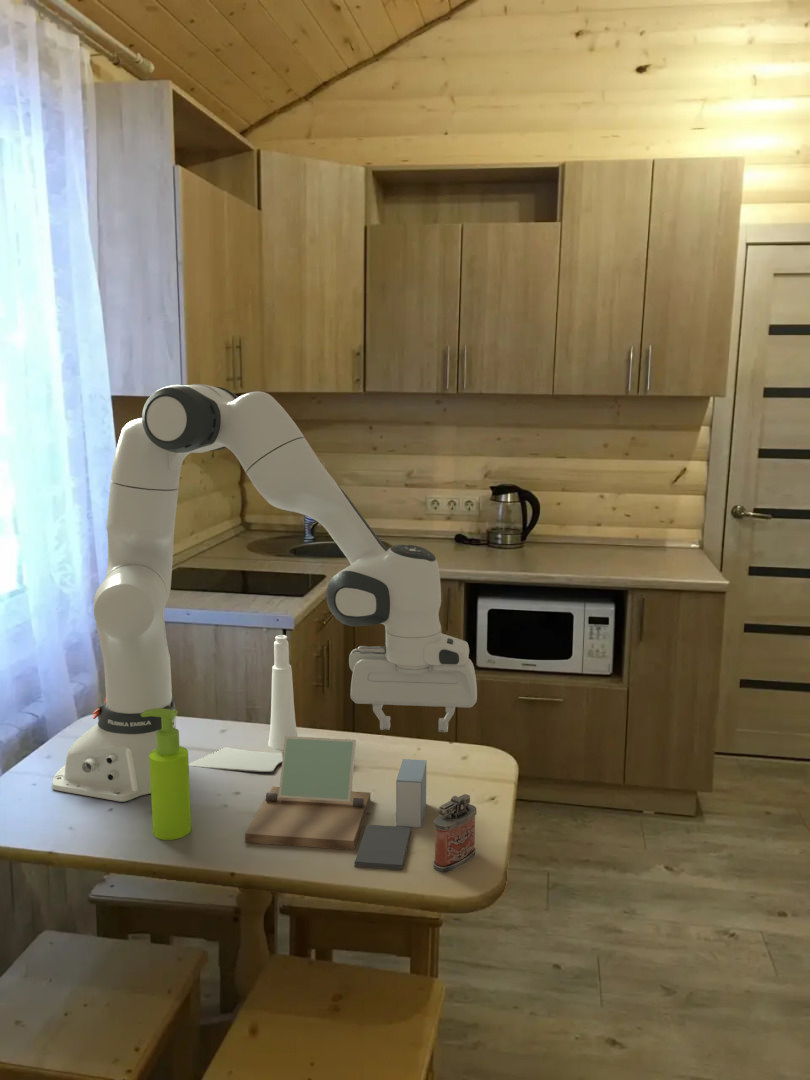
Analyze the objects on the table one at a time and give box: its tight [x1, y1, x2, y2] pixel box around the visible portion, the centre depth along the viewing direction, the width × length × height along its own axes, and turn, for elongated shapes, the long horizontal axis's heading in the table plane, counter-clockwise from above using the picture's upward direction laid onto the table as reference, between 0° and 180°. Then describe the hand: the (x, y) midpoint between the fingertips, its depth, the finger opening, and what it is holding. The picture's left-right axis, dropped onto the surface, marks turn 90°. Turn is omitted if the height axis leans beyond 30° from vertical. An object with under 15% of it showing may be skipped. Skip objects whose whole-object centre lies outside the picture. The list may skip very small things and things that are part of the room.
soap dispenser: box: [140, 708, 192, 841], centre depth 140 cm, size 6×7×20 cm
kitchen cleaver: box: [189, 746, 283, 773], centre depth 166 cm, size 31×2×10 cm
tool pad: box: [354, 823, 412, 871], centre depth 137 cm, size 7×11×1 cm, turn 173°
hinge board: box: [244, 786, 371, 851], centre depth 145 cm, size 17×16×3 cm
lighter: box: [433, 793, 477, 874], centre depth 132 cm, size 8×3×10 cm, turn 136°
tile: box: [278, 736, 357, 802], centre depth 149 cm, size 12×10×1 cm
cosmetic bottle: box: [267, 634, 299, 751], centre depth 172 cm, size 6×6×22 cm
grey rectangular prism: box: [395, 758, 427, 829], centre depth 146 cm, size 4×8×8 cm, turn 173°
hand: (414, 729), depth 144 cm, fingers open, 8 cm apart
